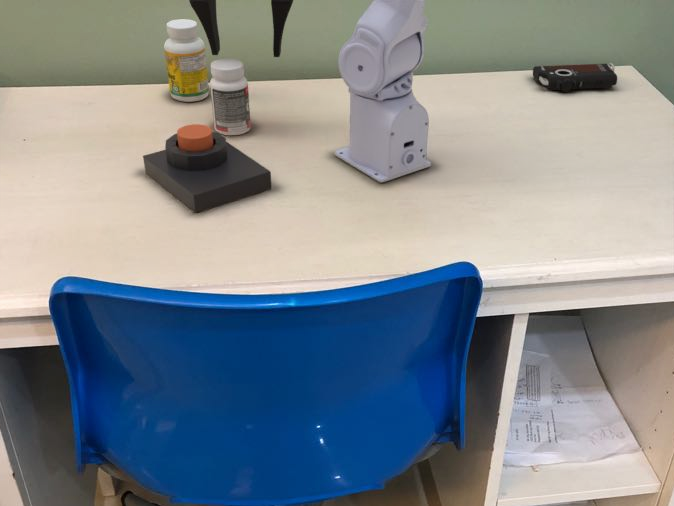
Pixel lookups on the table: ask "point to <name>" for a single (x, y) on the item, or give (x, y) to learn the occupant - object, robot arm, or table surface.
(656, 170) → the table surface
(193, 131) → the orange push button
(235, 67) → the pill bottle
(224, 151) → the block
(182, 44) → the supplement bottle
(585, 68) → the camera
